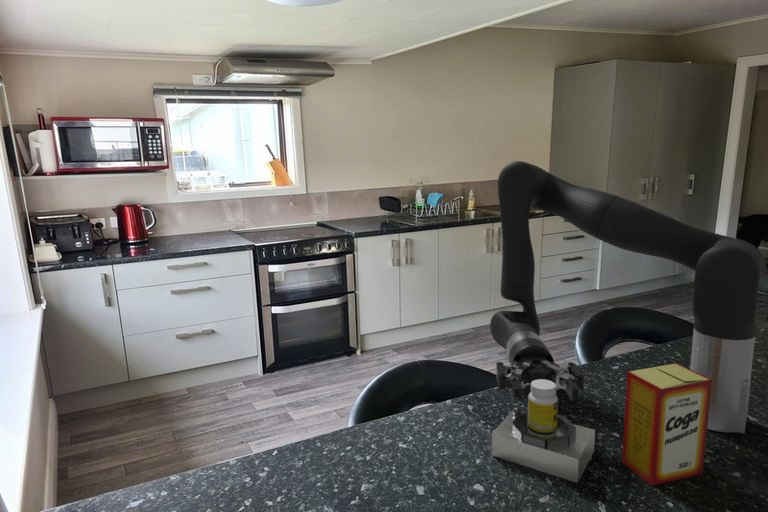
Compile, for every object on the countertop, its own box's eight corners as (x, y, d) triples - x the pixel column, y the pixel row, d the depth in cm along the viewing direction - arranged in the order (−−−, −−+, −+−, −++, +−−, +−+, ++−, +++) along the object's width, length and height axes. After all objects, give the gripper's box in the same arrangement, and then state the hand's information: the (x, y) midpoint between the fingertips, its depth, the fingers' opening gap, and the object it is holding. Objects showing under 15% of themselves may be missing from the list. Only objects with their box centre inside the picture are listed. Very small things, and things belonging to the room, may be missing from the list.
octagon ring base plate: (593, 451, 88) (595, 423, 87) (577, 483, 80) (578, 452, 79) (513, 428, 96) (514, 402, 95) (491, 455, 88) (491, 426, 87)
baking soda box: (652, 485, 79) (659, 387, 76) (621, 461, 85) (627, 369, 82) (702, 473, 82) (712, 377, 78) (669, 451, 88) (677, 361, 85)
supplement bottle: (558, 440, 85) (560, 391, 83) (528, 437, 86) (529, 389, 84) (555, 425, 89) (556, 378, 88) (526, 422, 90) (527, 377, 89)
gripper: (490, 337, 100) (502, 373, 84) (567, 337, 99) (594, 373, 83) (490, 374, 101) (501, 416, 85) (566, 374, 100) (592, 417, 84)
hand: (547, 395), depth 84 cm, fingers open, 8 cm apart
